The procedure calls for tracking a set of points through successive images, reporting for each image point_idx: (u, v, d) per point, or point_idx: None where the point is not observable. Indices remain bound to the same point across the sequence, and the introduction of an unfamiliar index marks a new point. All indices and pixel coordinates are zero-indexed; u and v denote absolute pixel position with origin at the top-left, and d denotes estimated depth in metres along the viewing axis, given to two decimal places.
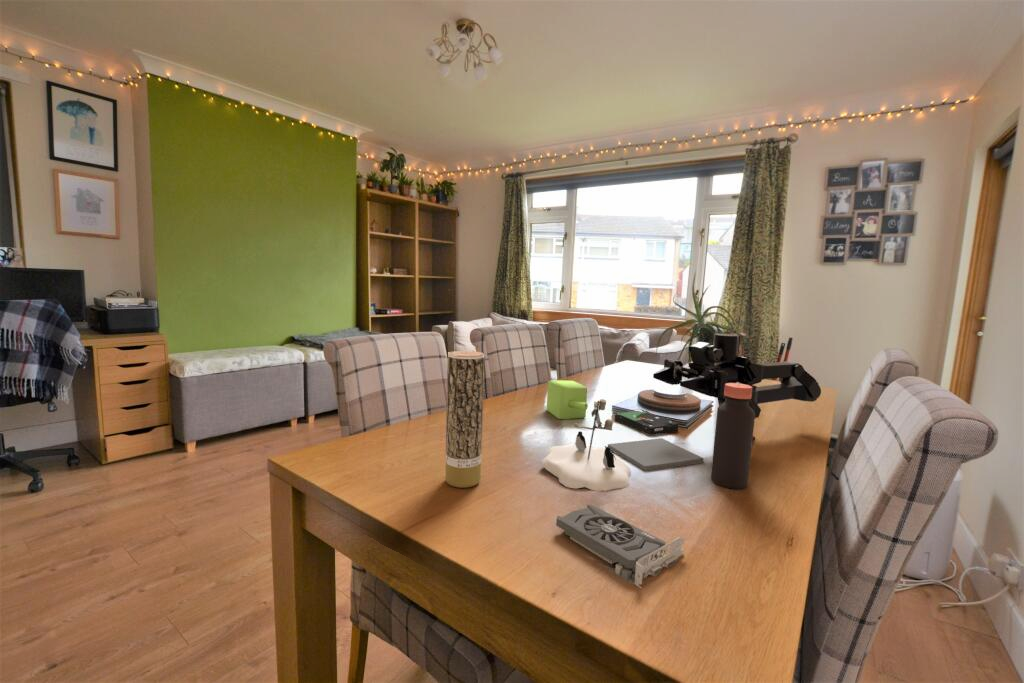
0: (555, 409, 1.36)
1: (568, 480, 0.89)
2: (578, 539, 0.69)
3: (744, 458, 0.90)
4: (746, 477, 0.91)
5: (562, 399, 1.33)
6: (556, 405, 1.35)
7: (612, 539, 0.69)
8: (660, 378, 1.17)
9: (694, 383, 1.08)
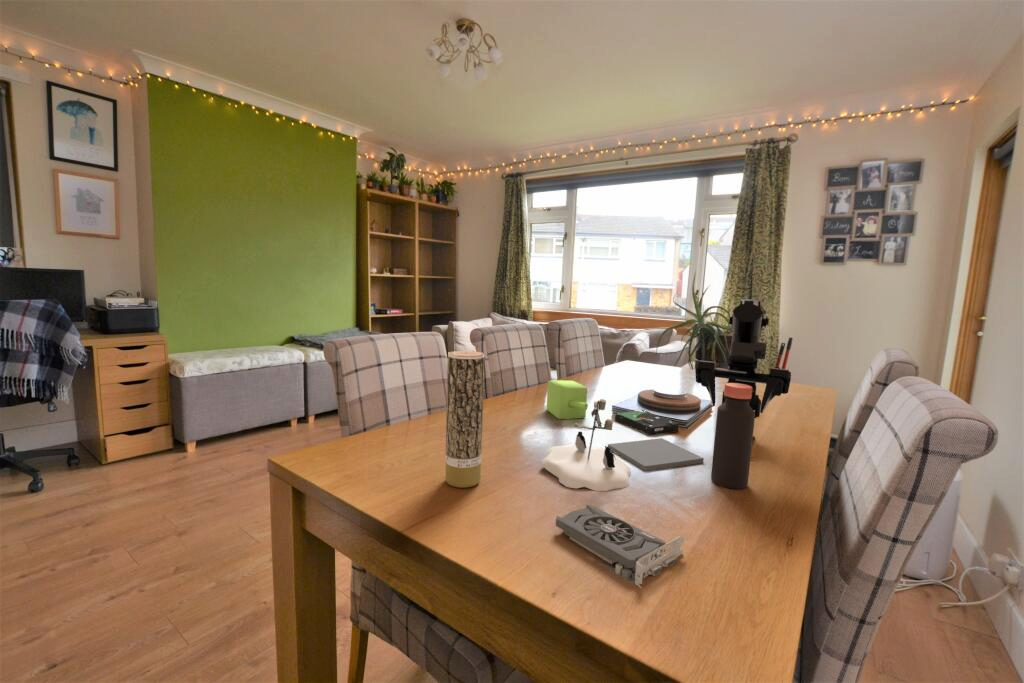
0: (555, 409, 1.36)
1: (568, 480, 0.89)
2: (578, 539, 0.69)
3: (744, 458, 0.90)
4: (746, 477, 0.91)
5: (562, 399, 1.33)
6: (556, 405, 1.35)
7: (612, 539, 0.69)
8: None
9: (768, 400, 0.98)
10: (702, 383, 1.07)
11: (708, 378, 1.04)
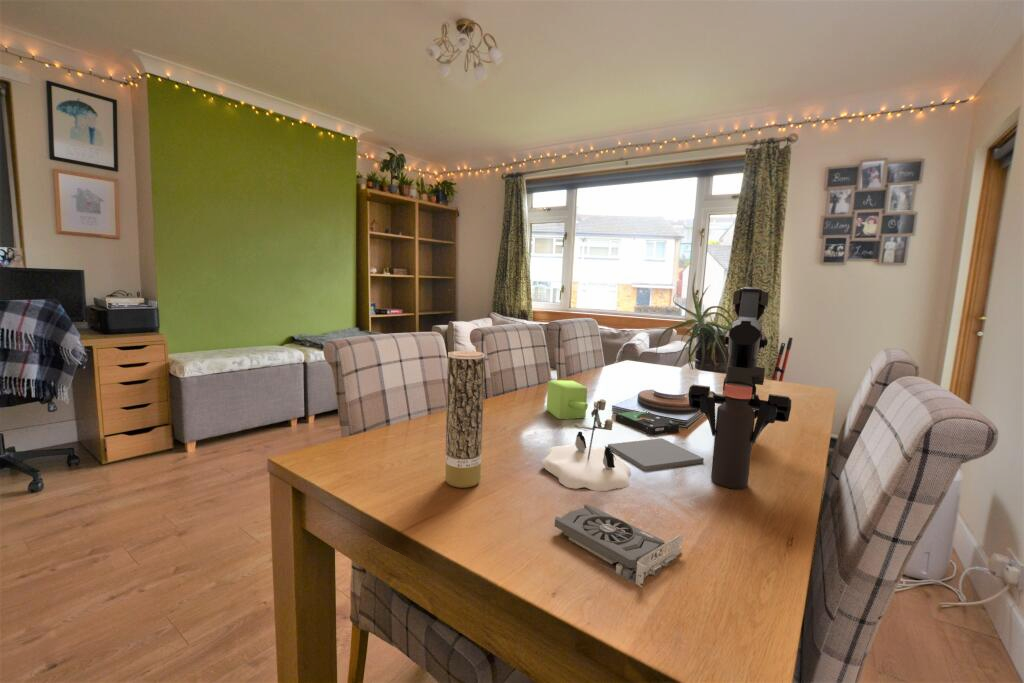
0: (555, 409, 1.36)
1: (568, 480, 0.89)
2: (577, 539, 0.68)
3: (744, 458, 0.90)
4: (746, 477, 0.91)
5: (562, 399, 1.33)
6: (556, 405, 1.35)
7: (611, 539, 0.69)
8: None
9: (761, 428, 0.91)
10: (701, 409, 0.99)
11: (707, 405, 0.96)
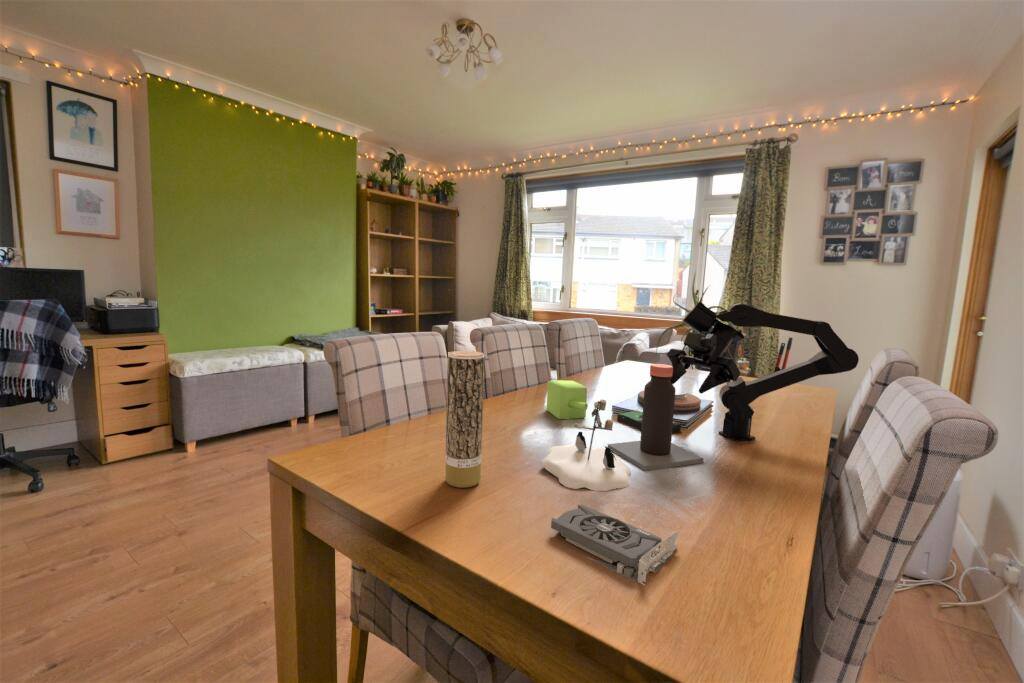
0: (555, 409, 1.36)
1: (568, 480, 0.89)
2: (576, 540, 0.68)
3: (657, 428, 1.04)
4: (661, 446, 1.04)
5: (562, 399, 1.33)
6: (556, 405, 1.35)
7: (609, 538, 0.69)
8: (675, 380, 1.22)
9: (710, 383, 1.13)
10: None
11: (672, 363, 1.24)
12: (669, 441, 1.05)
